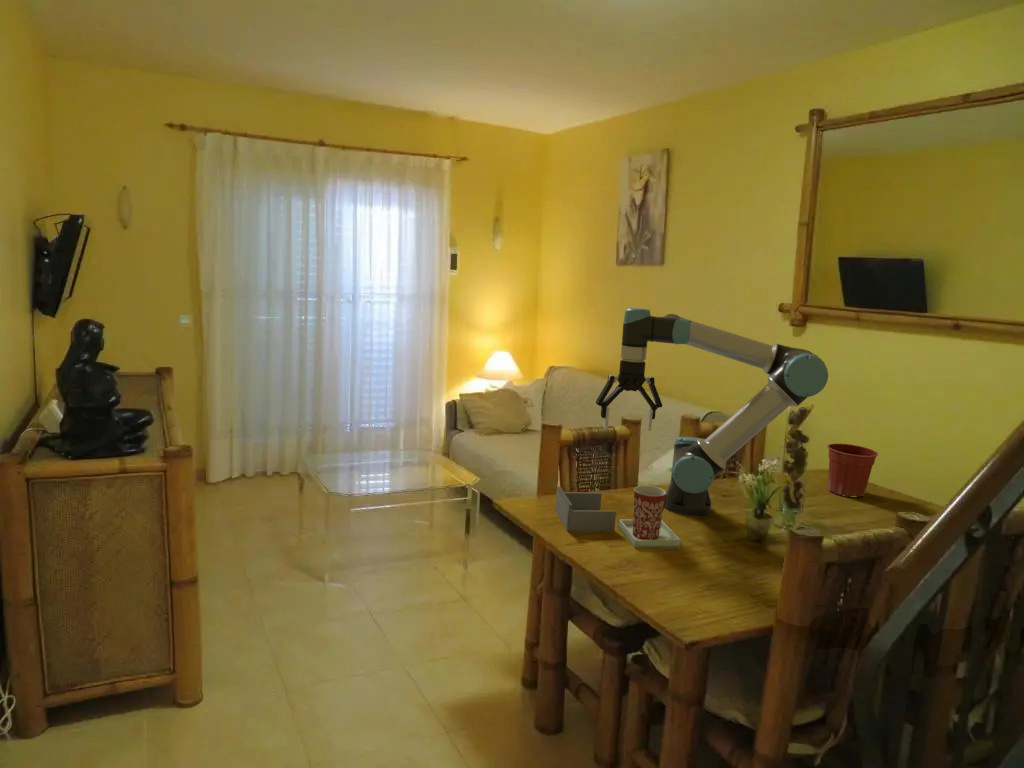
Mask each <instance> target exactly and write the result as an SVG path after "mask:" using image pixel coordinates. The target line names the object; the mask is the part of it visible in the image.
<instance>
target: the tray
mask: <svg viewBox="0 0 1024 768" xmlns="http://www.w3.org/2000/svg"><path fill="white" fill-rule="evenodd" d="M617 527H618V528H619V530H620V531H621V532H622V533H623V535H624V537H625V538H626V539H627V540H628V542H629V543H630V544H631V545H632V547H633V548H634V549H681V548H682V539H680V537H679V536H678V535H677V534H676V533H675V532H674V531H673V530H672V529H671V528H670V527H669V526H668V525H667V524H666V522H664V520H662V519H661V525H660V531H659V537H658V538H657V539H656V540H642V539H638V538H636V537H635V536H634V535H633V519H621V518H620V519H619V518H618V522H617Z"/></svg>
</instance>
